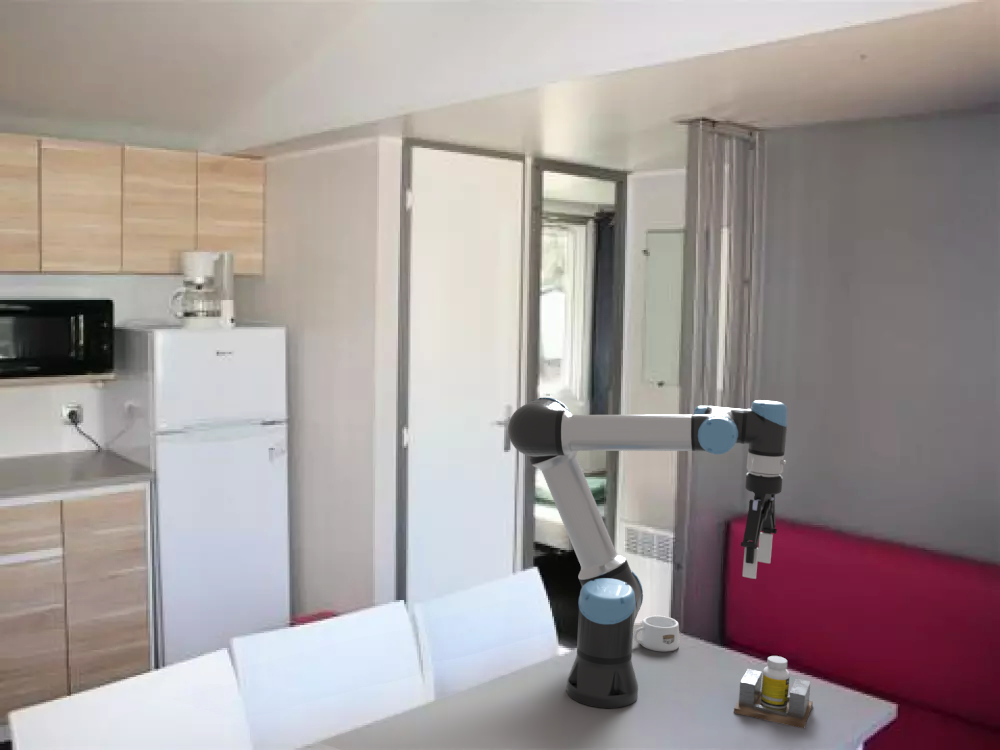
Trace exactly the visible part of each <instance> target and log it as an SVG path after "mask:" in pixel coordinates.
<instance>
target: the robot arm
mask: <svg viewBox="0 0 1000 750" xmlns="http://www.w3.org/2000/svg"><path fill="white" fill-rule="evenodd" d="M511 415H512V416H511V417H510V418H509V422H508V427H507V428H508V429H507V431H508V432H507V433H508V437H509V438H508V439H509V441H510V443H511V445H513V447H514V448H515V449H516V450H517V451H518V452H519V453H521V454H523V455H524V456H528V459H529V461H530V463H531V465H532V467H534V468H537V469H539V470H540V471H541V473H542V475H543V478H544V480H545V483H546V485H547V487H548V490H549V492H550V495H551V497H552V499H553V502H554V504H555V506H556V509H557V511H558V515H559V516H560V519H561V522H562V524H563V525H564V528H565V531H566V533H567V534H566V535H568V538H569V541H570V543H571V545H572V548H573V550H574V553H575V555H576V558H577V561H578V562H579V564H580V571H579V573H578V580H579V582H580V585H581V588H580V592H579V596H578V620H577V621H578V623H577V641H576V642H577V644H576V645H577V646H576V656H575V658H574V659H575V660H574V661H573V664H572V667H571V669H570V672H569V674H568V677H567V681H566V693H567V694H568V696H569V697H570V698H571V699H573V700H574V701H576V702H578V703H580V704H583V705H587V706H588V707H589V706H590V707H594V708H603V709H614V708H616V709H617V708H622V707H627V706H629V705H632V704H634V702H636V701H637V700H638V697H639V692H638V691H639V684H638V679H637V677H636V673H635V669H634V668H635V667H634V665H633V661H632V660H633V658H632V656H633V642H634V641H633V639H634V636H633V635H634V625H635V621H636V619H637V616H638V614H639V612H640V610H641V606H642V604H643V599H644V594H643V593H644V591H643V586H642V583H641V581H640V579H639V577H638V576H637V574H636V573H635V572H634V571H633V570H631V568H630V565H629V563H628V560H627V558H626V557H625V556H623V555H622V554H619V553H618V552H617V551H616V549H615V546H614V544H613V540H612V538H611V536H610V534H609V531H608V529H607V527H606V523H605V522H604V519H603V517H602V515H601V513H600V510H599V507H598V505H597V502H596V499H595V498H594V496H593V493H592V491H591V488H590V486H589V483H588V481H587V479H586V475H585V473H584V471H583V469H582V466H581V464H580V462H579V459H578V456H577V454H578V452H579V451H580V452H584V451H585V452H586V451H587V452H592V451H593V452H596V451H598V452H599V451H601V452H602V451H605V452H607V451H608V452H609V451H610V452H611V451H612V452H613V451H614V452H615V451H616V452H617V451H618V452H621V451H623V452H630V451H631V452H633V451H635V452H639V451H641V452H662V451H663V452H667V451H668V452H671V451H672V452H683V451H684V452H686V451H687V452H707V453H710V454H712V455H725V453H728V452H729V451H731V450H732V449H733V448H734V447H735V445H736V444H742V445H748V451H747V457H746V458H747V461H746V470H747V471H748V472H747V473H746V474H745V476H746V477H745V489H746V490H747V491H749V492H753V493H754V495H753V499H749V501H748V504H749V505H748V510H747V511H748V512H747V518H746V523H745V528H744V534H743V540H742V542H740V547H742V548H744V551H743V552H744V553H743V554H744V555H743V563H742V564H743V565H742V577H744V578H748V579H755V580H756V579H757V571H758V570H757V569H758V562H759V563H763V564H771V558H772V549H773V537H774V535H775V534H776V535H777V534H778V533H777V532H778V528H777V527H776V525H777V524H776V504H775V503H776V501H775V499H776V495H778V494H780V493H781V492H782V489H783V488H782V487H783V476H782V475H781V474H782V473H784V466H785V465H786V464H787V460H786V459H784V458H785V451H786V450H785V449H786V442H787V441H786V440H787V431H788V429H787V428H788V407H787V405H786V404H785V403H783V402H780V401H775V400H761V399H758V400H754V401H753V402H751V406H750V408H747V409H746V408H734V407H723V406H714V405H698V406H696V407H695V408H694V413H693V414H572V412H571V411H570V409H569V408H568V407H567V405H566V404H565V403H563V402H562V401H561V400H559V399H556V398H553V397H539V398H534V399H532V400H530V401H528V402H527V403H526V404H523V405H522V406H521V407H519V408H517V409H516V410H515V411H514V412H513V414H511Z"/></svg>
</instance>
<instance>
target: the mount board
mask: <svg viewBox="0 0 1000 750" xmlns="http://www.w3.org/2000/svg"><path fill="white" fill-rule="evenodd" d="M756 704H758V705H762V706H764V705H763V704H762V703H761V693H760V696H759V698H758V700H757V702H756ZM812 709H813V700H809V705H808V708H807V711H806V713H805V716H804V719H799V718H795V717H790V716H787V717H784V716H779V715H775V714H770V713H766V712H761V711H757V710H753V708H750V707H745V706H741V705H739V699H738V701H737V703H736V704H735V705H734V708H733V713H734V714H738V715H742V716H747V717H750V718H756V719H759V720H764V721H768V722H773V723H777V724H782V725H787V726H791V727H794V728H800V729H805V727H806V724H807V722H808V718H809V717H810V713H811V711H812ZM781 710H785V711H788V710H789V701H788V702H787V707H786V708H784V709H781Z"/></svg>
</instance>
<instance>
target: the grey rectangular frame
mask: <svg viewBox="0 0 1000 750" xmlns="http://www.w3.org/2000/svg"><path fill="white" fill-rule="evenodd" d="M762 678H763V671H760V670H757V669H751V668H747V669H746V672H745V673H744V674H743V676H742V678H741V680H740V681H739V696H738V700H739V705H741V706H745V707H750V708H753V710H757V711H761V712H766V713H770V714H775V715H779V716H784V717H787V716H790V717H795V718H799V719H804V716H805V713H806V711H807V708H808V705H809V701H810V694H811V693H810V692H811V683H812V682H811V681H810V680H805V679H799V678H795V679H794V682H793V685H792V687H791V689H790V691H789V694H788V701H789V710H788V711H785V710H781V709H776V708H772V707H767V706H762V705H758V704H756V702H757V700H758V698H759V696H760V693H761V690H762Z"/></svg>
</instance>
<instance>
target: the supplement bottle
mask: <svg viewBox="0 0 1000 750" xmlns="http://www.w3.org/2000/svg"><path fill="white" fill-rule="evenodd" d="M766 664H767V665H766V666H765V667H764V668H763V671H762V679H761V703H762V704H763V705H764V706H767V707H772V708H776V709H784V708H786V707H787V702H788V695H789V689H790V677H791V676H790V672H789V670H788V669H787V668H788V660H787V659H786V658H784V657H782V656H780V655H779V656H778V655H771V656H768V657H767V661H766Z"/></svg>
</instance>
